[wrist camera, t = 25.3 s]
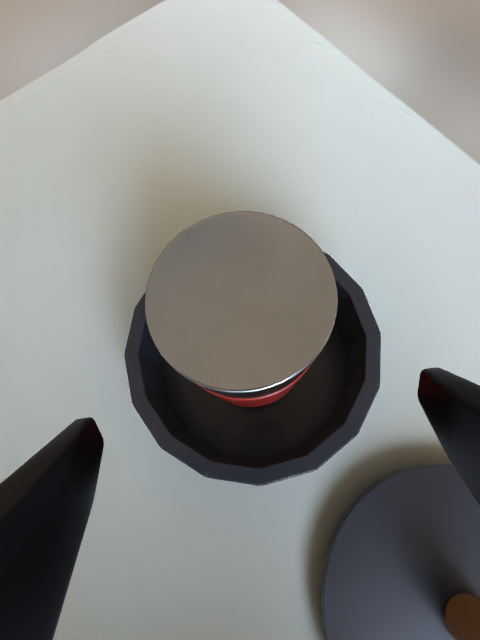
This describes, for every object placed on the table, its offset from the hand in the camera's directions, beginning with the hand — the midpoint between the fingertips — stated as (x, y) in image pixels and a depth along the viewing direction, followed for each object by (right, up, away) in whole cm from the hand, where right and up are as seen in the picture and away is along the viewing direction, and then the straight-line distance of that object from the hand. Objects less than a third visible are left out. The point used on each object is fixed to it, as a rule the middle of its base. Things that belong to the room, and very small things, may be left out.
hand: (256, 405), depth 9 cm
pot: (0, 0, +14) cm, 14 cm away
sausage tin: (0, 0, +13) cm, 13 cm away
